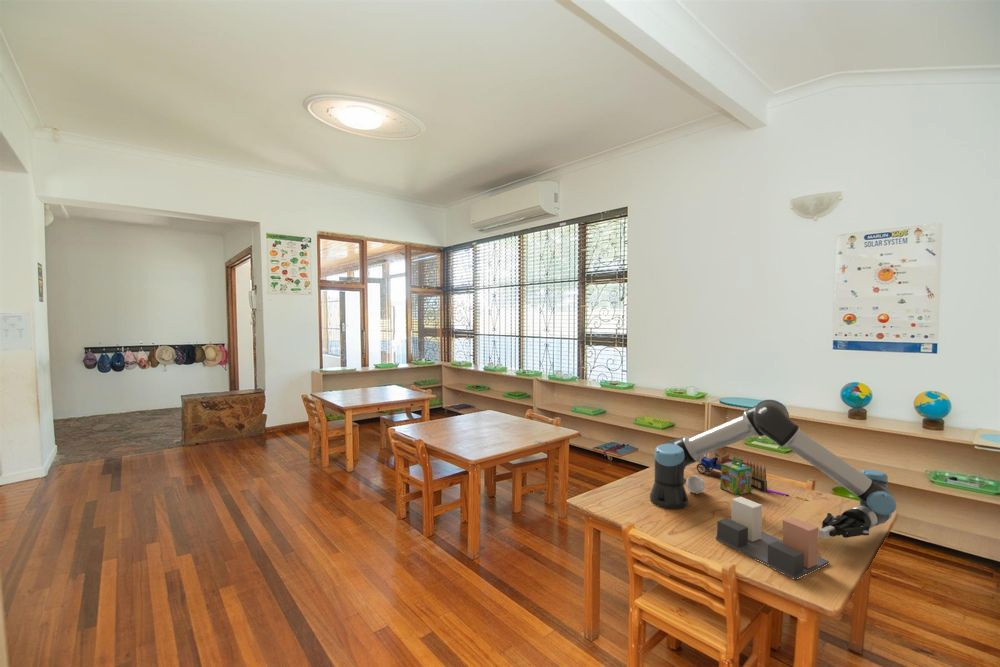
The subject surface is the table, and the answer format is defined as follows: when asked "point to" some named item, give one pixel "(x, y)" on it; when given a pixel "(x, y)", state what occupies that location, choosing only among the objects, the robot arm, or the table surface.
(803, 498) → the yellow handled tool
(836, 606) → the table surface
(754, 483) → the ammunition clip
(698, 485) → the geometric ball
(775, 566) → the key console
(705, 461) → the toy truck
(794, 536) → the terracotta key
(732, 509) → the off-white key
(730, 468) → the chalk box
